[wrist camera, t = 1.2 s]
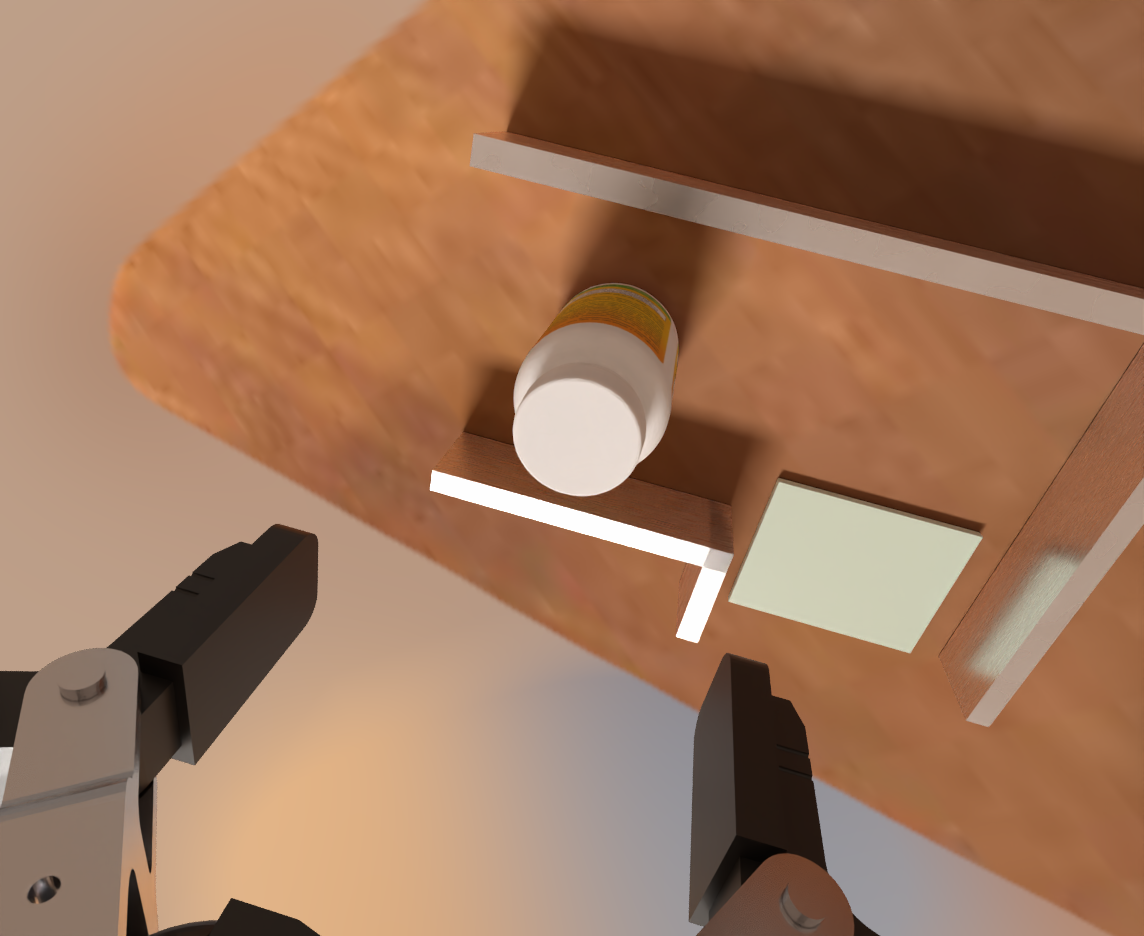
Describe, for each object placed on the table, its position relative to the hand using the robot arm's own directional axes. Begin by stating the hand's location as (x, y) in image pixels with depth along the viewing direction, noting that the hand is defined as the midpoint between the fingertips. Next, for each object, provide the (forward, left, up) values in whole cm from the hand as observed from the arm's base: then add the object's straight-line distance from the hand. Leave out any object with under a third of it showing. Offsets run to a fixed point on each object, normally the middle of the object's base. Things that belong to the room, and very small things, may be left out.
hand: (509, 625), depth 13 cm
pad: (+8, +13, -18) cm, 23 cm away
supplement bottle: (0, 0, -18) cm, 18 cm away
